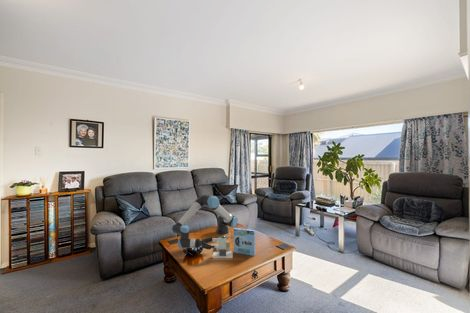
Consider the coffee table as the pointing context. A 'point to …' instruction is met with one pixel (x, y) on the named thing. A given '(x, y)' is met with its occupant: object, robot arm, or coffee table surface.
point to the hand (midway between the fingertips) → (218, 243)
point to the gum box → (244, 241)
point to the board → (228, 255)
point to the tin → (222, 246)
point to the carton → (226, 246)
